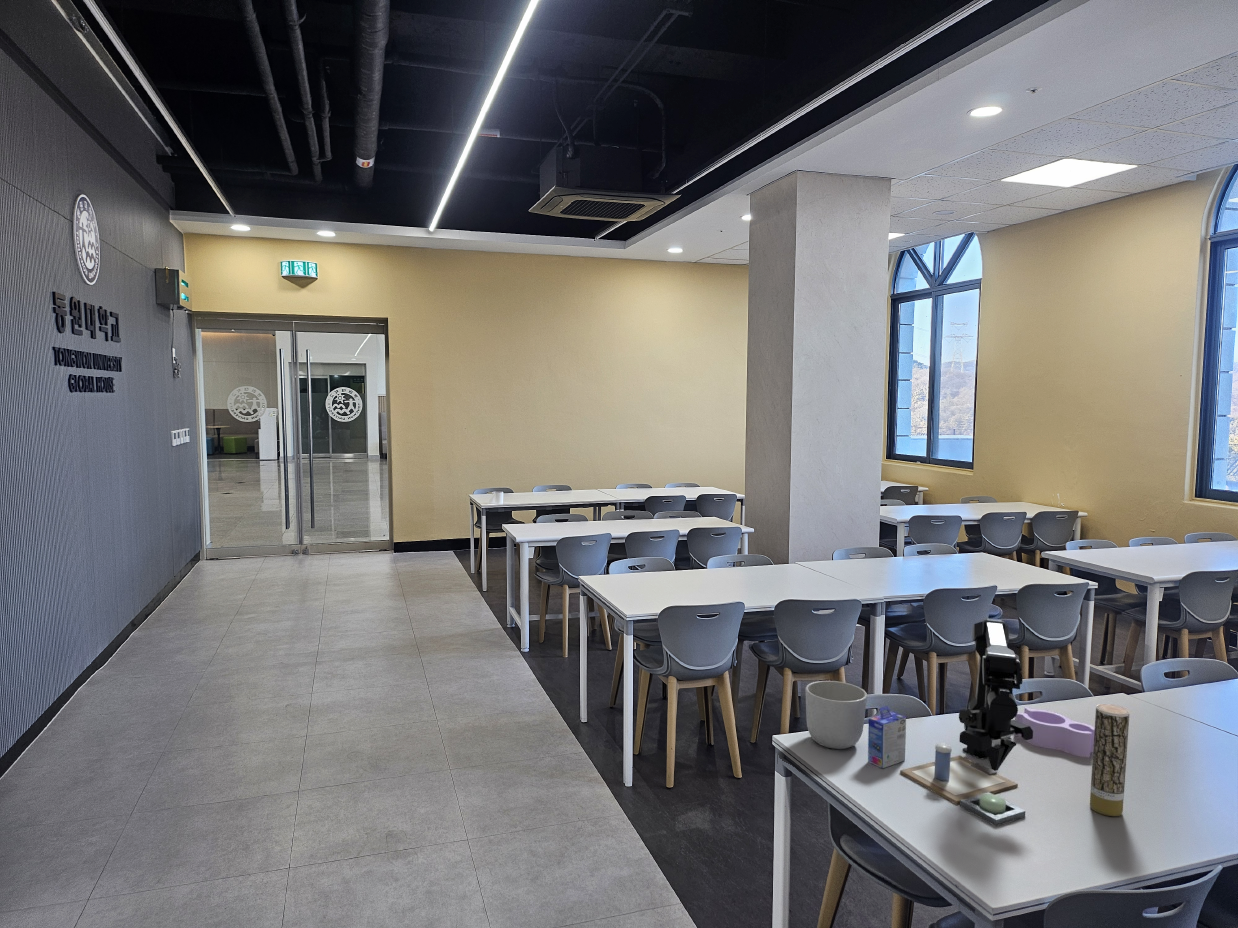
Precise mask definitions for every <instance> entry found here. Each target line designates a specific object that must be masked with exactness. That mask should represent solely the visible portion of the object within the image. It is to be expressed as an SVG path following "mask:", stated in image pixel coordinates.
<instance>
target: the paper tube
mask: <svg viewBox="0 0 1238 928" xmlns="http://www.w3.org/2000/svg"><path fill="white" fill-rule="evenodd" d="M1129 723H1130V711H1129V710H1128V709H1127V708H1124V707H1123V706H1119V705H1115V704H1109V703H1099V704H1096V706H1095V718H1094V728H1095V730H1094V746H1093V753H1092V760H1091V761H1092V764H1091V777H1090V778H1091V780H1090V792H1089V793H1090V795H1089V797H1090V798H1089V805H1090V806H1089V807H1090V808H1091V809H1092V810H1093V811H1095V812H1096V813H1098V814H1100V815H1104V816H1108V817H1119V816H1121V815H1123V811H1124V798H1125V785H1126V783H1125V782H1126V770H1127V758H1128V754H1127V753H1128V743H1129V742H1128V741H1129Z"/></svg>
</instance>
